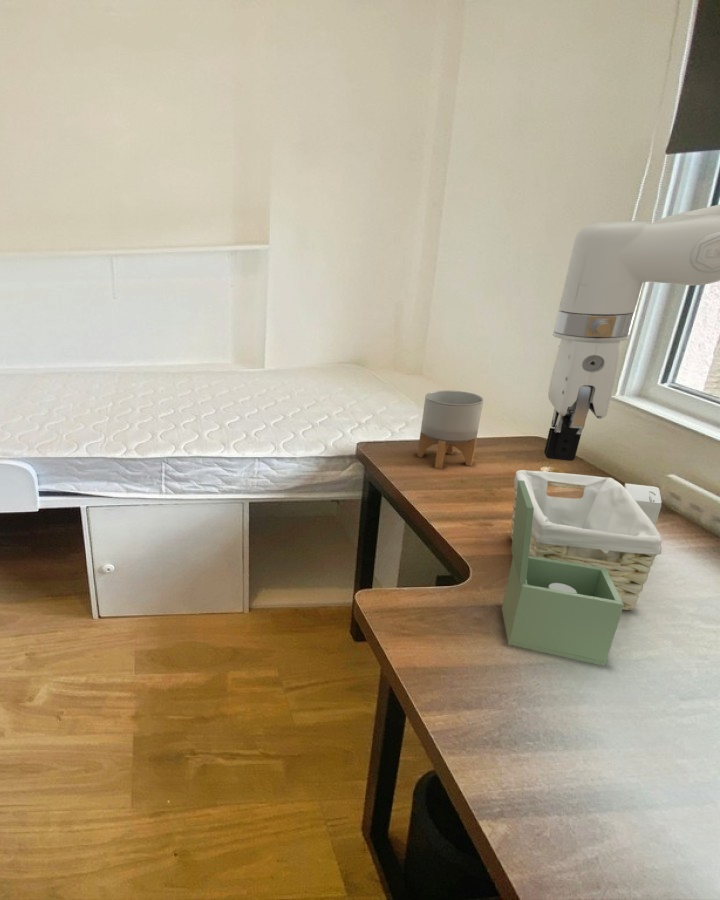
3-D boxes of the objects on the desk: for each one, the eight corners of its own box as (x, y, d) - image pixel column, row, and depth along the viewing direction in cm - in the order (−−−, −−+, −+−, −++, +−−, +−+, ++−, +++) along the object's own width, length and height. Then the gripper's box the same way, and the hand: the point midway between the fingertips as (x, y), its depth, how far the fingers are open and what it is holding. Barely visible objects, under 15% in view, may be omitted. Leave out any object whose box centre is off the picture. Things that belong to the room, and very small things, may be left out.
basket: (643, 620, 88) (671, 540, 82) (520, 599, 94) (538, 523, 89) (599, 545, 108) (618, 476, 102) (500, 532, 114) (513, 467, 109)
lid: (524, 480, 84) (517, 480, 85) (534, 507, 77) (526, 507, 77) (517, 551, 88) (511, 550, 89) (525, 584, 81) (519, 583, 81)
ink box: (609, 534, 111) (625, 481, 106) (643, 541, 108) (660, 486, 103) (610, 554, 105) (626, 498, 100) (645, 561, 102) (663, 504, 97)
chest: (589, 625, 87) (606, 568, 84) (604, 666, 80) (624, 604, 76) (501, 608, 93) (513, 553, 89) (508, 644, 85) (521, 586, 81)
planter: (476, 457, 149) (488, 394, 143) (465, 473, 141) (477, 407, 134) (424, 448, 158) (432, 388, 151) (411, 463, 149) (419, 400, 142)
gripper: (649, 337, 63) (606, 483, 69) (613, 316, 75) (580, 442, 82) (567, 335, 66) (534, 474, 73) (545, 316, 78) (518, 437, 85)
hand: (558, 457), depth 77 cm, fingers closed
